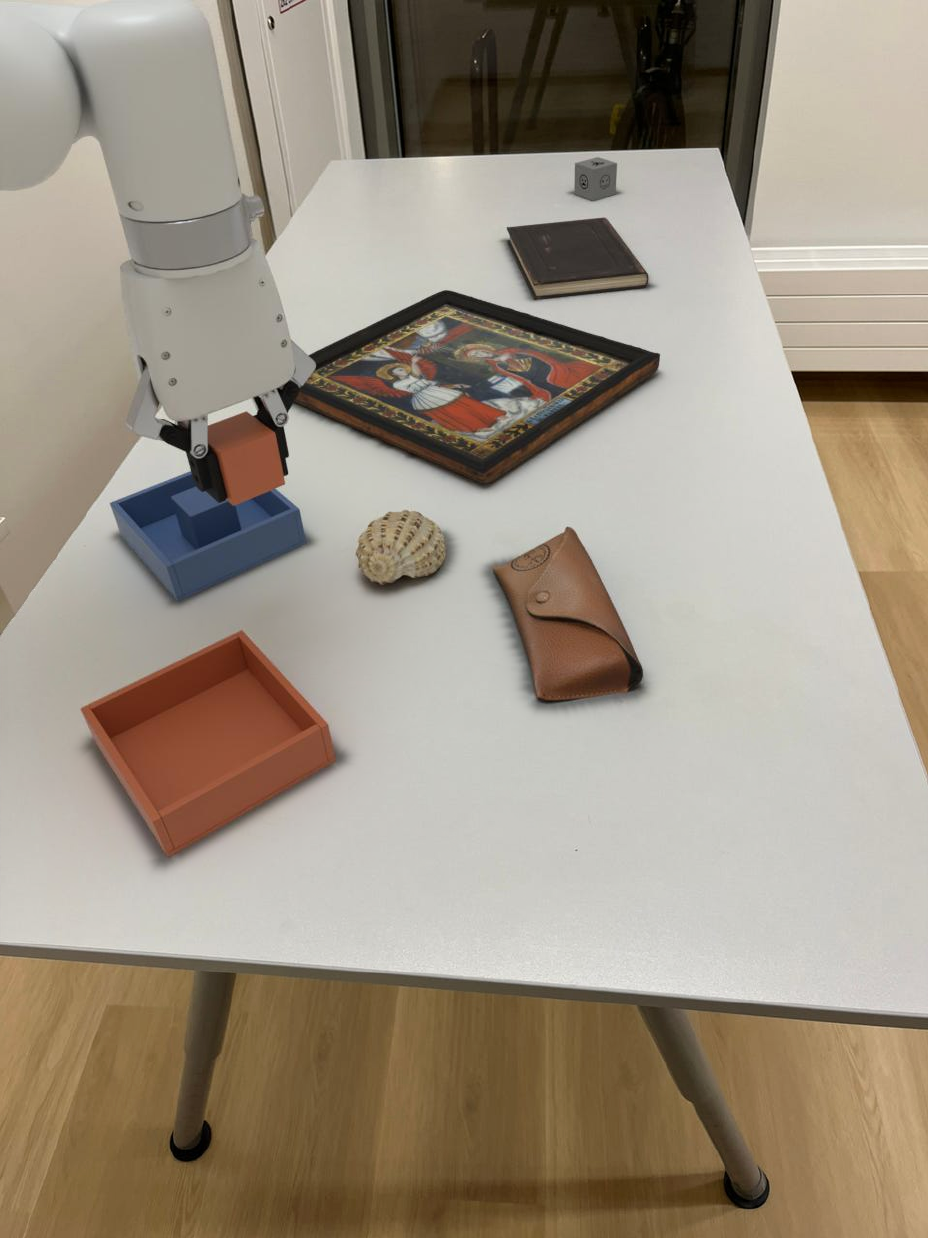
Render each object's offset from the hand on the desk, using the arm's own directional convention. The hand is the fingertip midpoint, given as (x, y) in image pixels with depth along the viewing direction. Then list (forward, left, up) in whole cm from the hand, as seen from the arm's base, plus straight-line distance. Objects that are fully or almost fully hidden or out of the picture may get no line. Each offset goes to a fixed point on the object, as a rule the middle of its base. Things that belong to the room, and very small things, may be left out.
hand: (244, 479), depth 71 cm
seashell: (+13, +1, -15) cm, 20 cm away
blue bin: (+1, +16, -15) cm, 22 cm away
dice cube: (+97, +65, -15) cm, 118 cm away
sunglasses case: (+18, -15, -15) cm, 28 cm away
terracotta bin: (-11, -9, -15) cm, 21 cm away
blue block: (+1, +16, -14) cm, 21 cm away
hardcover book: (+73, +44, -15) cm, 87 cm away
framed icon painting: (+38, +25, -15) cm, 48 cm away
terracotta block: (0, 0, 0) cm, 0 cm away
